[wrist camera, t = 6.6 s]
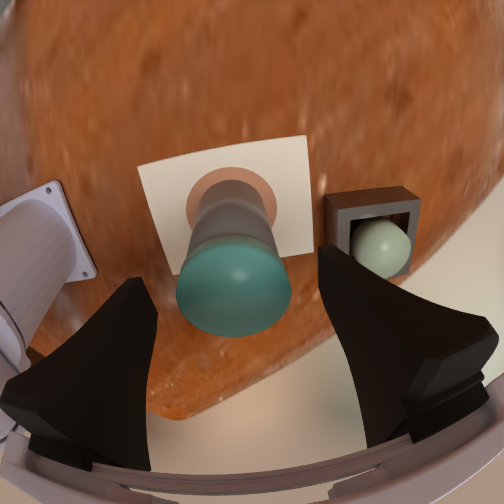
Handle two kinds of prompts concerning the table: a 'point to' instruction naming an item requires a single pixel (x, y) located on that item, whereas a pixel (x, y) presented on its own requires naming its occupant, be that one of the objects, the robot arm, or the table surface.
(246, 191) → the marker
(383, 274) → the button
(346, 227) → the button base
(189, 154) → the paper
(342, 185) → the table surface
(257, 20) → the table surface
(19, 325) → the robot arm
